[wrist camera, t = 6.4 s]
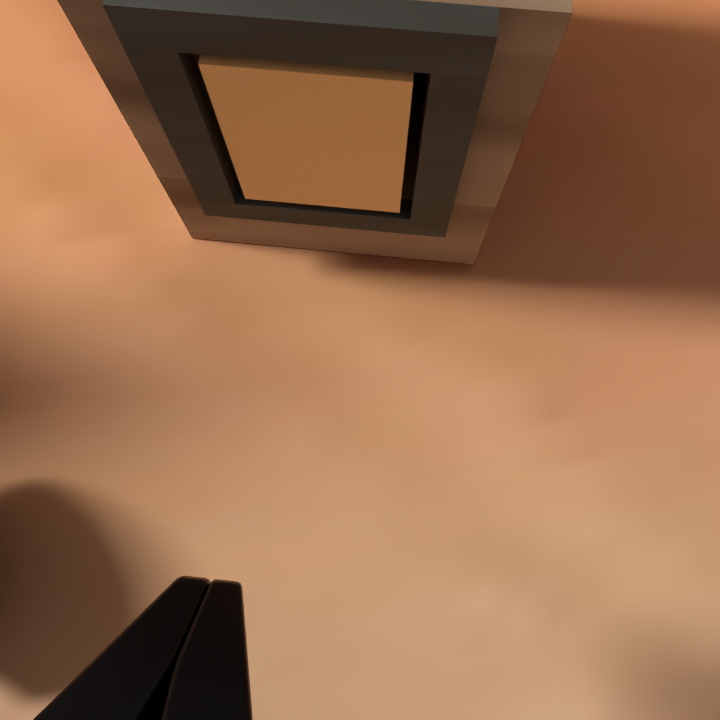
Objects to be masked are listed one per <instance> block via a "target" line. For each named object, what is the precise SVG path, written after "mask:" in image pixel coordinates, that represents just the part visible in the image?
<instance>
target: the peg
mask: <svg viewBox="0 0 720 720" xmlns="http://www.w3.org/2000/svg"><path fill="white" fill-rule="evenodd" d="M198 65H199V68H200V71H201V74H202V76H203V79H204V82H205V85H206V88H207V91H208V94H209V97H210V99H211V102H212V105H213V108H214V111H215V114H216V117H217V119H218V122H219V125H220V128H221V131H222V134H223V137H224V140H225V142H226V145H227V148H228V151H229V154H230V157H231V160H232V162H233V165H234V168H235V171H236V174H237V177H238V180H239V183H240V185H241V188H242V191H243V194H244V197H245V199H254V200H265V201H276V202H287V203H298V204H309V205H320V206H330V207H341V208H352V209H363V210H374V211H385V212H396V213H400V203H401V194H402V184H403V174H404V165H405V155H406V146H407V136H408V127H409V117H410V108H411V98H412V88H413V79H414V72H405V71H393V70H382V69H370V68H358V67H346V66H334V65H322V64H310V63H298V62H286V61H275V60H263V59H251V58H239V57H227V56H215V55H203V54H200V57H199V62H198Z"/></svg>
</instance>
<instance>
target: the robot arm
mask: <svg viewBox="0 0 720 720" xmlns="http://www.w3.org/2000/svg"><path fill="white" fill-rule="evenodd" d="M33 720H253V718H252V705H251V693H250V680H249V667H248V655H247V642H246V630H245V617H244V605H243V592H242V585H241V583H239V582H236V581H227V580H218V579H216V580H213V581H212V582H210V580H209V579H206V578H201V577H192V576H181V577H179V578H177V579H176V580H175V581H174V582H173V583H172V584H171V585H170V586H169V587H168V588H167V589H166V590H165V591H164V592H163V593H162V594H161V595H160V596H159V597H158V598H157V599H156V600H155V601H154V602H153V603H151V604H150V605H149V606H148V607H147V608H146V609H145V610H144V611H143V612H142V613H141V614H140V615H139V616H138V617H137V618H136V619H135V620H134V621H133V622H132V623H131V624H130V625H129V626H128V627H127V628H126V629H125V630H124V631H123V632H122V633H121V634H120V635H119V636H118V637H117V638H116V639H115V640H114V641H113V642H112V643H111V644H110V645H109V646H108V647H107V648H106V649H105V650H104V651H103V652H102V653H101V654H100V655H99V656H97V657H96V658H95V659H94V660H93V661H92V662H91V663H90V664H89V665H88V666H87V667H86V668H85V669H84V670H83V671H82V672H81V673H80V674H79V675H78V676H77V677H76V678H75V679H74V680H73V681H72V682H71V683H70V684H69V685H68V686H67V687H66V688H65V689H64V690H63V691H62V692H61V693H60V694H59V695H58V696H57V697H56V698H55V699H54V700H53V701H52V702H51V703H50V704H49V705H48V706H47V707H46V708H45V709H43V710H42V711H41V712H40V713H39V714H38V715H37V716H36V717H35V718H34V719H33Z"/></svg>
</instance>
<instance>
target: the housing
mask: <svg viewBox="0 0 720 720" xmlns="http://www.w3.org/2000/svg"><path fill="white" fill-rule="evenodd" d="M572 1H573V0H58V2H59V4H60V6H61V7H62V9H63V11H64V13H65V14H66V16H67V18H68V20H69V21H70V23H71V25H72V27H73V28H74V30H75V32H76V34H77V36H78V37H79V39H80V41H81V43H82V44H83V46H84V48H85V50H86V51H87V53H88V55H89V57H90V58H91V60H92V62H93V64H94V66H95V67H96V69H97V71H98V73H99V74H100V76H101V78H102V80H103V81H104V83H105V85H106V87H107V88H108V90H109V92H110V94H111V95H112V97H113V99H114V101H115V103H116V104H117V106H118V108H119V110H120V111H121V113H122V115H123V117H124V118H125V120H126V122H127V124H128V125H129V127H130V129H131V131H132V132H133V134H134V136H135V138H136V140H137V141H138V143H139V145H140V147H141V148H142V150H143V152H144V154H145V155H146V157H147V159H148V161H149V162H150V164H151V166H152V168H153V170H154V171H155V173H156V175H157V177H158V178H159V180H160V182H161V184H162V185H163V187H164V189H165V191H166V192H167V194H168V196H169V198H170V199H171V201H172V203H173V205H174V207H175V208H176V210H177V212H178V214H179V215H180V217H181V219H182V221H183V222H184V224H185V226H186V228H187V229H188V231H189V233H190V235H191V236H192V238H197V239H208V240H218V241H229V242H239V243H250V244H261V245H271V246H282V247H293V248H303V249H314V250H325V251H335V252H346V253H357V254H367V255H378V256H389V257H399V258H410V259H421V260H431V261H442V262H452V263H463V264H474V263H475V260H476V257H477V255H478V252H479V250H480V247H481V245H482V242H483V240H484V237H485V234H486V232H487V229H488V227H489V224H490V222H491V219H492V217H493V214H494V211H495V209H496V206H497V204H498V201H499V199H500V196H501V194H502V191H503V188H504V186H505V183H506V181H507V178H508V176H509V173H510V171H511V168H512V165H513V163H514V160H515V158H516V155H517V153H518V150H519V148H520V145H521V143H522V140H523V137H524V135H525V132H526V130H527V127H528V125H529V122H530V120H531V117H532V114H533V112H534V109H535V107H536V104H537V102H538V99H539V97H540V94H541V91H542V89H543V86H544V84H545V81H546V79H547V76H548V74H549V71H550V68H551V66H552V63H553V61H554V58H555V56H556V53H557V51H558V48H559V45H560V43H561V40H562V38H563V35H564V33H565V30H566V28H567V25H568V22H569V20H570V17H571V15H572ZM200 54H203V55H215V56H227V57H239V58H251V59H263V60H275V61H286V62H298V63H310V64H322V65H334V66H346V67H358V68H370V69H382V70H393V71H405V72H414V79H413V88H412V98H411V108H410V117H409V127H408V136H407V146H406V155H405V165H404V174H403V184H402V194H401V203H400V213H396V212H385V211H374V210H363V209H352V208H341V207H330V206H320V205H309V204H298V203H287V202H276V201H265V200H254V199H245V197H244V194H243V191H242V188H241V185H240V183H239V180H238V177H237V174H236V171H235V168H234V165H233V162H232V160H231V157H230V154H229V151H228V148H227V145H226V142H225V140H224V137H223V134H222V131H221V128H220V125H219V122H218V119H217V117H216V114H215V111H214V108H213V105H212V102H211V99H210V97H209V94H208V91H207V88H206V85H205V82H204V79H203V76H202V74H201V71H200V68H199V65H198V62H199V57H200Z"/></svg>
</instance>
